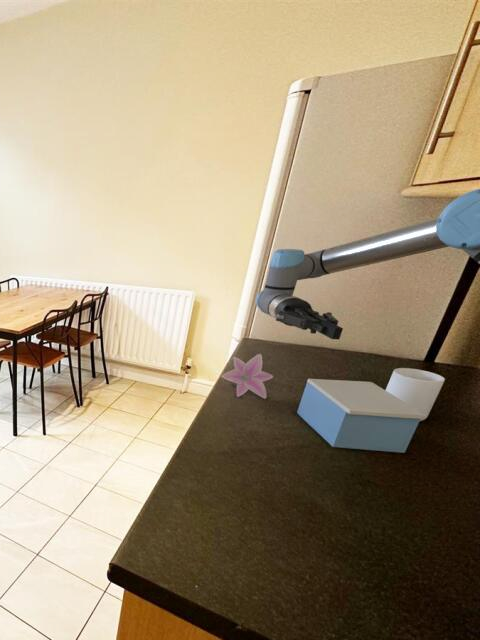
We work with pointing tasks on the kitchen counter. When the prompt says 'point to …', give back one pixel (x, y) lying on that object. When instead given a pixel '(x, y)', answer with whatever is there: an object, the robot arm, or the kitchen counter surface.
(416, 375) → the cup
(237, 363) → the lily
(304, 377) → the kitchen counter surface
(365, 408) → the case lid
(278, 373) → the kitchen counter surface
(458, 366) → the kitchen counter surface
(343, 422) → the case
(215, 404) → the kitchen counter surface
